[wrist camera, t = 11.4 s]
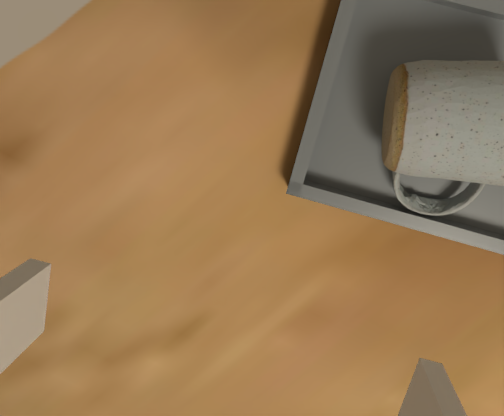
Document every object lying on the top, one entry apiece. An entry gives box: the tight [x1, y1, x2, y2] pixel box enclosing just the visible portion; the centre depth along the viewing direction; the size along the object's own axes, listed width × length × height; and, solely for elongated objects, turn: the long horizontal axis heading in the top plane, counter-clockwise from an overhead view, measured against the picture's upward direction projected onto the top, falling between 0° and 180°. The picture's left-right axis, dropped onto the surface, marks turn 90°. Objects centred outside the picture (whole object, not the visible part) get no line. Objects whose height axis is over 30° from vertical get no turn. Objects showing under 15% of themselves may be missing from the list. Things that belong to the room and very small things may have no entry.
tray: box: [286, 0, 504, 255], centre depth 33 cm, size 20×16×2 cm
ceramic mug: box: [381, 60, 504, 216], centre depth 30 cm, size 11×8×8 cm
